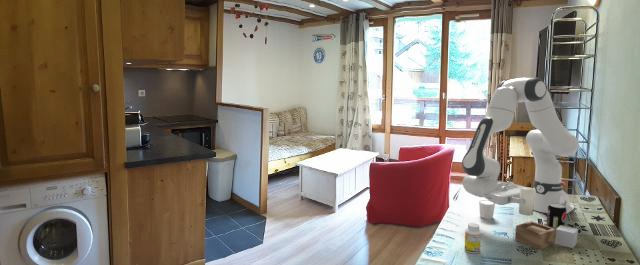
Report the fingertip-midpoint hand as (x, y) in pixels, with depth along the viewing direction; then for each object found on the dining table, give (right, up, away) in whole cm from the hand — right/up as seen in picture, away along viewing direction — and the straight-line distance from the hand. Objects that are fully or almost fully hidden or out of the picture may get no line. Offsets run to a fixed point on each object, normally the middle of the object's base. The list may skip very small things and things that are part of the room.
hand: (529, 200), depth 152 cm
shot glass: (-4, -13, +29) cm, 32 cm away
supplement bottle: (-25, -18, -7) cm, 31 cm away
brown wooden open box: (+3, -16, +1) cm, 17 cm away
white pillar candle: (0, -5, +2) cm, 6 cm away
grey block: (+14, -17, 0) cm, 22 cm away
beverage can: (+16, -15, +10) cm, 25 cm away
